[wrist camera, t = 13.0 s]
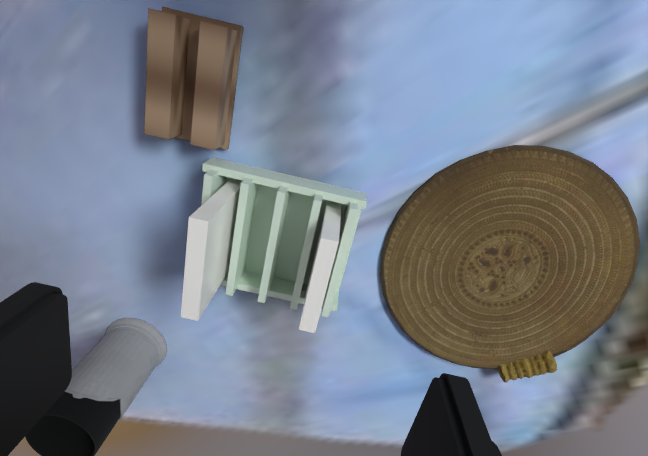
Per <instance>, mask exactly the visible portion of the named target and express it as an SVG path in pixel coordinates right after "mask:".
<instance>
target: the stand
mask: <svg viewBox="0 0 648 456" xmlns="http://www.w3.org/2000/svg"><path fill="white" fill-rule="evenodd" d="M242 34H243V27H242V26H239V25H235V24H231V23H227V22H223V21H219V20H214V19H210V18H206V17H202V16H198V15H194V14H190V13H186V12H182V11H177V10H173V9H169V8H165V7H162V12H161V11H157V10H153V9H149V8H148V37H147V69H146V101H145V134H147V135H152V136H156V137H160V138H164V139H171V138H174V137H175V138H179V139H184V140H188V141H191V144H190V145H194V146H199V147H203V148H207V149H211V150H215V149H217V148H222V149H226V150H227V149H228V148H229V142H230V134H231V125H232V117H233V109H234V100H235V92H236V84H237V75H238V67H239V59H240V51H241V42H242Z"/></svg>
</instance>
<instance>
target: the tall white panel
mask: <svg viewBox="0 0 648 456" xmlns="http://www.w3.org/2000/svg"><path fill="white" fill-rule="evenodd" d="M242 181H243V180H239V179H234V178H231V179H230V180H229V181H228V182H227V183H226V184H225V185H224V186H223V187H221V188H220V189H219V190H218V191H217V192H216V193H215V194H214V195H213V196H212V197H210V198H209V199H208V200H207V201H206V202H205V203H204V204H203V205H202V206H201V207H199V208H198V209H197V210H196V211H195V212H194V213H193V214H192V215H191V216H190V217H189V221H188V234H187V246H186V259H185V271H184V284H183V296H182V309H181V317H183V318H188V319H192V320H197V321H198V320H199V319H200V317H201V315H202V314H203V312H204V310H205V309H206V307H207V305H208V304H209V302H210V300H211V299H212V297H213V296H214V294H215V292H216V291H217V289H218V287H219V286H220V284H221V282H222V281H223V279H224V277H225V276H226V274H227V273H228V271H229V265H230V258H231V251H232V244H233V237H234V229H235V222H236V215H237V208H238V201H239V193H240V186H241V182H242Z"/></svg>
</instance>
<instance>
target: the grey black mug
mask: <svg viewBox="0 0 648 456" xmlns="http://www.w3.org/2000/svg"><path fill="white" fill-rule="evenodd" d="M166 354H167V345H166V342H165V339H164V337H163V336H162V334H161V333H160V332H159V331H158V330H157V329H156V328H155V327H153V326H152V325H151V324H149V323H147V322H145V321H142V320H139V319H135V318H123V319H119V320H116V321H114V322H113V323H112V324H110V326H109V327H108V328H107V330H106V333H105V336H104V337H103V338H102V339H101V340H100V341H99V342H98V344H97V345H96V346H95V347H94V348H93V349H92V350H91V351H90V352H89V353H88V354H87V355H86V356H85V358H84V359H83V360H82V361H81V362H80V363H79V364H78V365H77V366H76V367H75V368H74V369H73V371H72V378H71V382H70V384H69V386H68V388H67V389H66V390H65V392H64V393H63V394H62V395H61V396H60V397H59V399H58V400H57V401H56V402H55V403H54V404H53V405H52V406H51V408H50V409H49V410H48V411H47V412H46V413H45V414H44V415H43V417H42V418H41V419H40V420H39V421H38V422H37V423H36V424H35V426H34V427H33V428H32V429H31V430H30V431H29V432H28V433H27V435H26V436H25V437H26V440H27V441H28V443H29V445H30V446H31V447H32V448H33V449H34V450H35V451H36V452H37V453H39V454H40V455H41V456H94V455H95V454H96V453H97V451H98V449H99V448H100V447H101V445H102V443H103V442H104V441H105V439H106V438H107V436H108V435H109V433H110V432H111V430H112V429H113V427H114V426H115V424H116V422H118V421H119V420H120V419H121V418H122V416H123V415H124V413H125V412H126V410H127V409H128V407H129V406H130V404H131V403H132V401H133V400H134V398H135V397H136V395H137V394H138V392H139V390H140V389H141V387H142V386H143V384H144V383H145V381H146V380H147V378H148V377H149V375H150V374H151V372H152V371H153V369H154V368H155V367H156V366H157V365H159V364H160V363H161V362H162V361H163V360H164V358H165V357H166Z"/></svg>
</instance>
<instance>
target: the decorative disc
mask: <svg viewBox="0 0 648 456" xmlns="http://www.w3.org/2000/svg"><path fill="white" fill-rule="evenodd" d="M639 246H640V239H639V232H638V225H637V219H636V216H635V214H634V212H633V209H632V207H631V205H630V202H629V200H628V197H627V196H626V195H625V194H624V192H623V191H622V190H621V188H620V187H619V186H618V184H617V183H616V182H615V181H614V179H613V178H612V177H610V176H609V175H608V174H607V173H605V172H604V171H603V170H602V169H600V168H599V167H598V166H596V165H595V164H594V163H592V162H590V161H588V160H586V159H584V158H581V157H579V156H577V155H575V154H573V153H571V152H568V151H563V150H559V149H554V148H550V147H545V146H523V145H514V146H508V147H503V148H499V149H494V150H489V151H485V152H482V153H479V154H476V155H473V156H471V157H468V158H465V159H462V160H460V161H458V162H456V163H454V164H452V165H450V166H448V167H447V168H445V169H443V170H441V171H439V172H438V173H436V174H435V175H433V176H432V177H431V178H430V179H429V180H427V181H426V182H425V183H424V184H423V185H422V186H421V187H419V188H418V189H417V190H416V191H415V192H414V193H413V194H412V196H411V197H410V198H409V199H408V200H407V202H406V203H405V204H404V205H403V207H402V208H401V209H400V210H399V212H398V214H397V216H396V218H395V220H394V222H393V223H392V225H391V227H390V229H389V231H388V234H387V237H386V241H385V244H384V248H383V251H382V259H381V273H380V275H381V281H382V288H383V294H384V297H385V300H386V302H387V305H388V307H389V310H390V312H391V314H392V316H393V317H394V319H395V320H396V322H397V323H398V325H399V326H400V328H401V329H402V330H403V331H404V332H405V333H406V334H407V335H408V336H409V337H410V338H411V339H412V340H413V341H414V342H415V343H416V344H418V345H419V346H421V347H422V348H424V349H425V350H427V351H428V352H430V353H431V354H433V355H435V356H437V357H440V358H442V359H445V360H447V361H449V362H452V363H455V364H459V365H464V366H468V367H473V368H486V369H497V370H498V372H499V374H500V377H501V378H502V380H503V381H504V382H507V381H509V380H510V379H512V380H516V379H517V378H520V379H522V378H523V377H528V378H530V377H532V376H534V375H540V374H545V373H546V372H549V373H553V372H555V371H556V370H557V364H556V362H555V359H554V357H555V356H558V355H560V354H562V353H565V352H567V351H569V350H570V349H572V348H574V347H576V346H577V345H579V344H580V343H582V342H583V341H585V340H586V339H587V338H588V337H589V336H591V335H592V334H593V333H594V332H595V331H597V330H598V329H599V328H600V327H601V326H603V325H604V324H605V323H606V322H607V321H608V320H609V319H610V317H611V316H612V315H613V314H614V312H615V311H616V310H617V308H618V307H619V305H620V304H621V302H622V300H623V299H624V297H625V295H626V293H627V292H628V290H629V288H630V286H631V284H632V281H633V278H634V275H635V272H636V268H637V265H638V256H639Z"/></svg>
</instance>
